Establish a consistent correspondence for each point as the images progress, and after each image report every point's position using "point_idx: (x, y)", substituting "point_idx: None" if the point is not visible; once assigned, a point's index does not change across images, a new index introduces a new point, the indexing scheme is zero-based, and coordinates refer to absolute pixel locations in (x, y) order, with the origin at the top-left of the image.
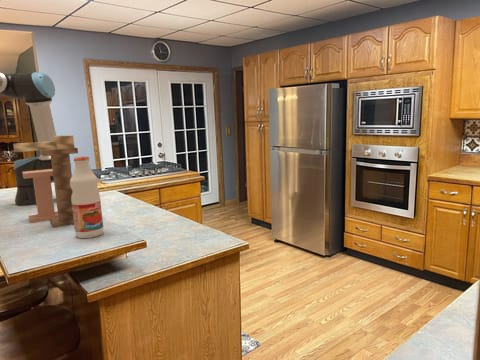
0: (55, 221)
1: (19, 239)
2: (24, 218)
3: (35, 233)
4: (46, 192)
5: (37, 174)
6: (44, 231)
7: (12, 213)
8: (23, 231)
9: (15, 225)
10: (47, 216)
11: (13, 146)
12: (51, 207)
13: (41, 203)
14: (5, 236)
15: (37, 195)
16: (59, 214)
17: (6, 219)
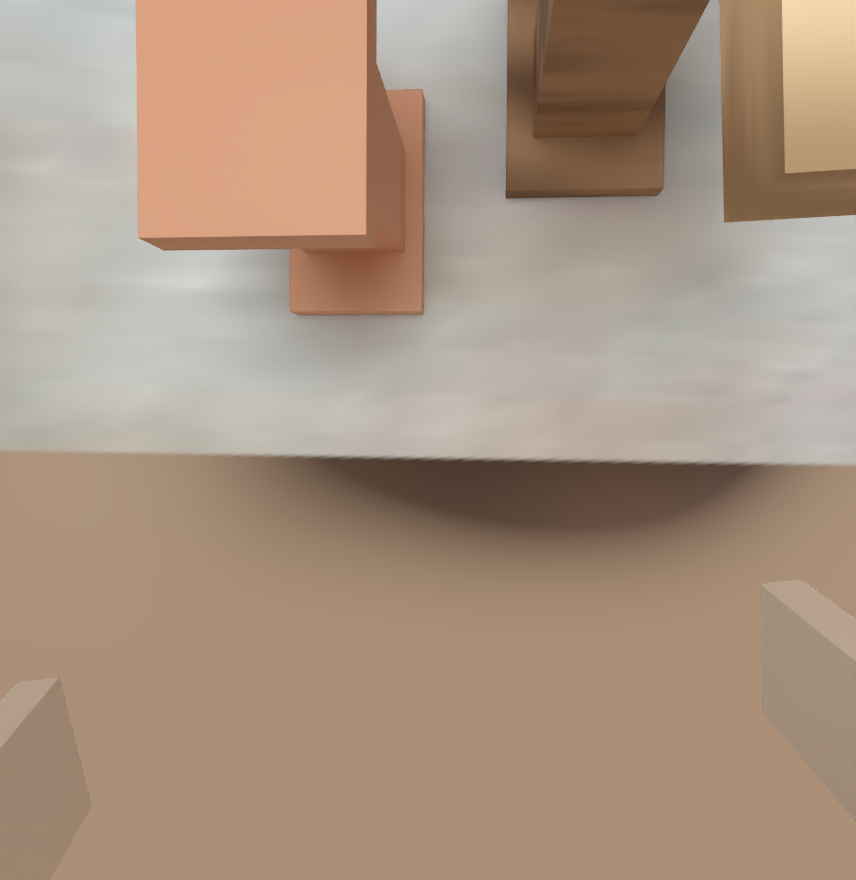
0: (603, 164)
1: (793, 388)
2: (253, 339)
3: (720, 300)
4: (378, 117)
5: (371, 96)
6: (711, 249)
7: (35, 403)
8: (615, 360)
9: (417, 397)
10: (410, 199)
11: (772, 191)
12: (397, 145)
13: (390, 197)
14: (660, 456)
15: (380, 198)
16: (634, 116)
17: (199, 442)
